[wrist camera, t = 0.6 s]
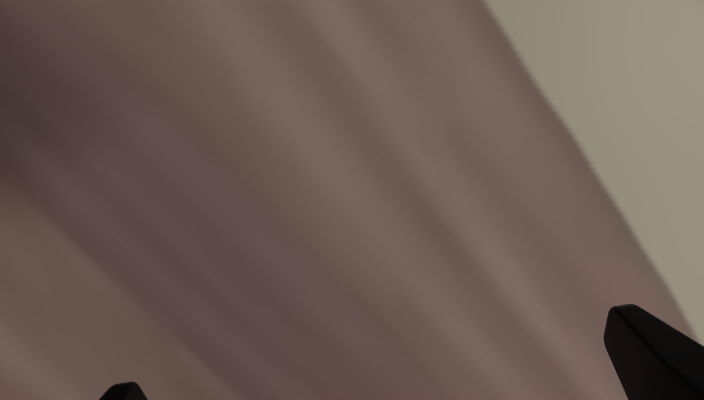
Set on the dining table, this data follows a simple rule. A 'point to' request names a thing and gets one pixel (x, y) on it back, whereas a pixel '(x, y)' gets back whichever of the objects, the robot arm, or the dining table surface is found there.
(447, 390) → the dining table surface
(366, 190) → the dining table surface
